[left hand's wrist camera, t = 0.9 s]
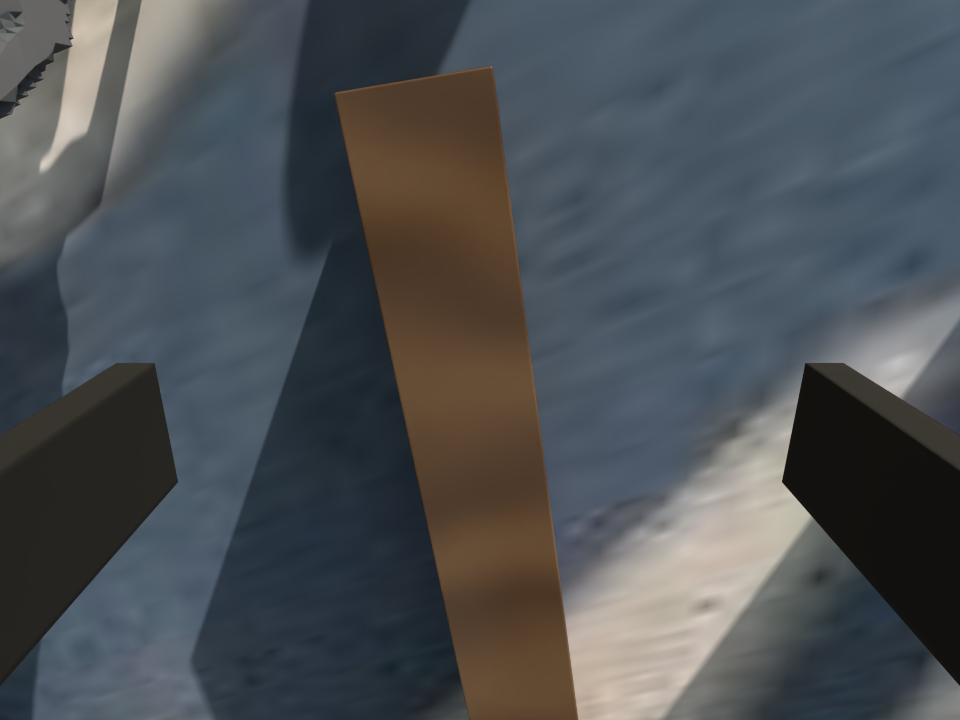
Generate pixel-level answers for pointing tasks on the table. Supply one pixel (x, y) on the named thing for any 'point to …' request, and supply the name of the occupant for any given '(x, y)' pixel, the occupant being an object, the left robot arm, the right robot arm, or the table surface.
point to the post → (465, 378)
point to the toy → (29, 45)
